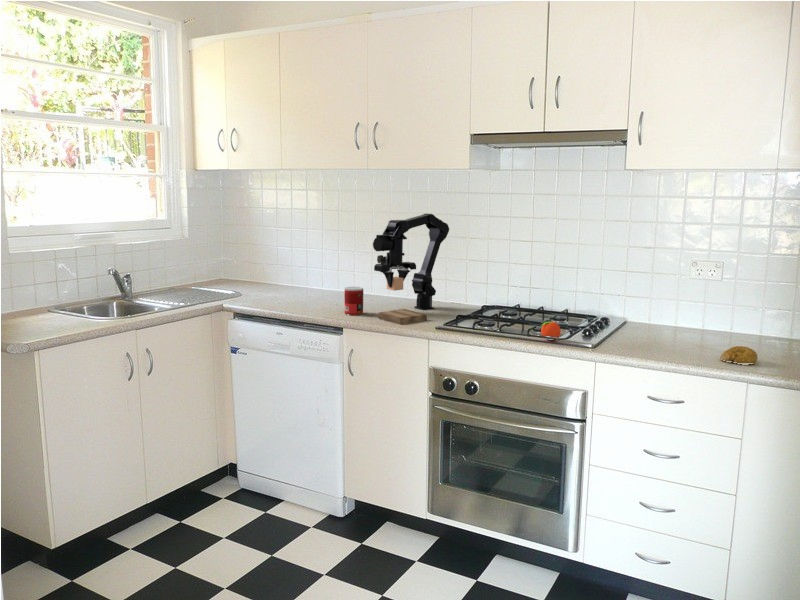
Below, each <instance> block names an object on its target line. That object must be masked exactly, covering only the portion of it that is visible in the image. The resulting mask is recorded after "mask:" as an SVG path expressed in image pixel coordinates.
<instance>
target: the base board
mask: <svg viewBox="0 0 800 600" xmlns="http://www.w3.org/2000/svg"><path fill="white" fill-rule="evenodd" d="M377 313H378V315H377V316H378V317H377V318H379V320H382V319H383V321H385V320H386V322H389V321H390V323H394V324H398V325H405V323H406V324H411V323H412V322H413V323H417V322H418V321H419V322H424V320H425V321H427V319H428V318H427V316H428V314H427V313H424V312H419V311H414V310H410V309H406V308H400V309H395V310H387V311H381V312H377Z"/></svg>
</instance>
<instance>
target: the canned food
mask: <svg viewBox="0 0 800 600" xmlns="http://www.w3.org/2000/svg"><path fill="white" fill-rule="evenodd" d="M363 313H364V287H361V286H347V287H344V314H345V315H347V314H349V315H348V316H360V315H359V314H362V315H363Z"/></svg>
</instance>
